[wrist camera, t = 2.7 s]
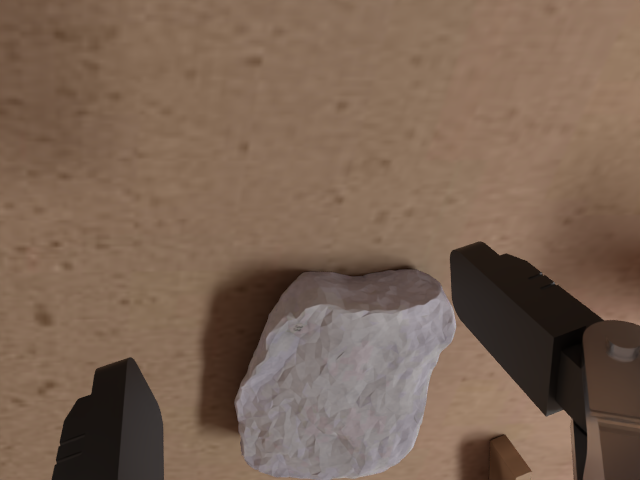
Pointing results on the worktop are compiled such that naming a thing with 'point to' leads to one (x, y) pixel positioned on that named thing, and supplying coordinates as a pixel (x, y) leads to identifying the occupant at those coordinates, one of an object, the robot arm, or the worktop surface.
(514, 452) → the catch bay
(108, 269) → the worktop surface
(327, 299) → the stone block
